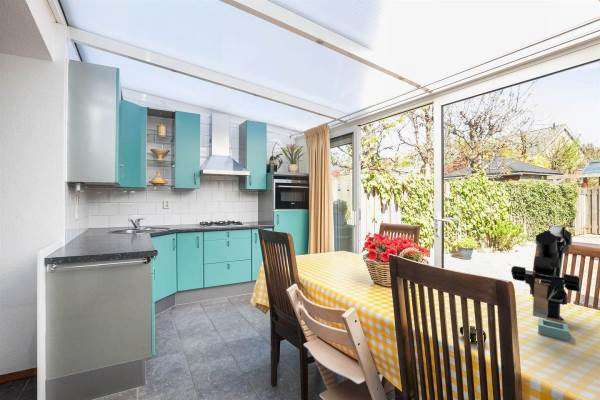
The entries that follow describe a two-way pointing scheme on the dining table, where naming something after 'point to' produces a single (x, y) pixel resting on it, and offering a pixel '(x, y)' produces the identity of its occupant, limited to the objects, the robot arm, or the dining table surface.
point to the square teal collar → (553, 329)
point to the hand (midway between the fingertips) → (540, 298)
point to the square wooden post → (540, 300)
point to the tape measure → (473, 334)
